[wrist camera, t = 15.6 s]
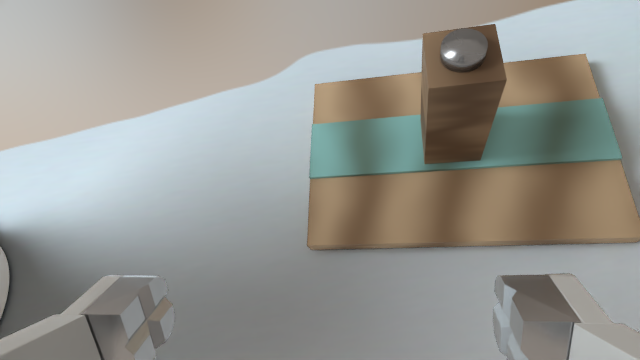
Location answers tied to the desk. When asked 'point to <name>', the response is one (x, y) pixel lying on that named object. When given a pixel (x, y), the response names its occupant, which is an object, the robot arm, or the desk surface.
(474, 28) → the walnut post
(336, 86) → the tan flat board
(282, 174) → the desk surface
